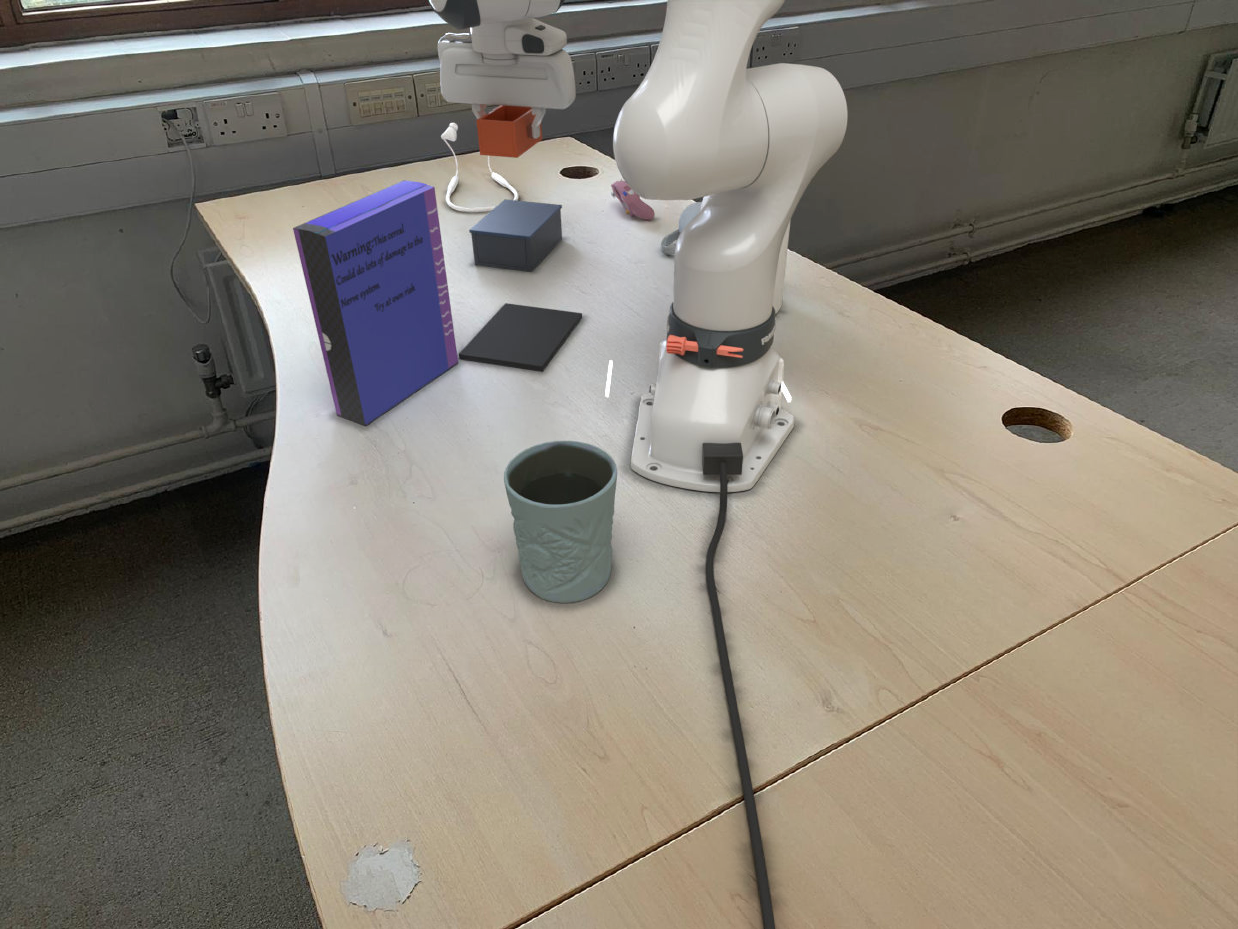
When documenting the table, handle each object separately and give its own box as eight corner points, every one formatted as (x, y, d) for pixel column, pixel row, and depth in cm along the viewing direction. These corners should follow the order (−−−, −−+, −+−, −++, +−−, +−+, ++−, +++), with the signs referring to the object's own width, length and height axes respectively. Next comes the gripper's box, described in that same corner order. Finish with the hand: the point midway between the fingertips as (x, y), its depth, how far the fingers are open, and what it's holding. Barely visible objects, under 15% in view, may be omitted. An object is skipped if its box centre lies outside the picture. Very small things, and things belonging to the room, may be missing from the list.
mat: (542, 371, 118) (542, 366, 117) (459, 359, 121) (458, 353, 120) (582, 318, 130) (582, 312, 130) (505, 307, 133) (505, 302, 133)
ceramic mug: (718, 238, 153) (719, 194, 149) (730, 257, 147) (732, 211, 142) (657, 244, 152) (656, 199, 148) (666, 263, 146) (666, 217, 141)
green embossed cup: (525, 617, 82) (515, 515, 75) (505, 547, 90) (494, 449, 83) (631, 594, 84) (631, 493, 77) (603, 528, 92) (600, 430, 85)
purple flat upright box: (430, 354, 122) (403, 178, 108) (458, 363, 120) (434, 185, 106) (336, 415, 110) (292, 226, 96) (365, 426, 108) (324, 234, 94)
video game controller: (619, 212, 168) (602, 181, 164) (640, 199, 168) (624, 167, 164) (636, 231, 161) (619, 199, 156) (658, 217, 160) (641, 184, 156)
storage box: (532, 272, 143) (530, 236, 140) (473, 265, 146) (469, 229, 142) (563, 239, 154) (562, 204, 151) (507, 232, 157) (504, 199, 153)
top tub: (517, 157, 131) (514, 122, 128) (479, 154, 133) (476, 119, 130) (542, 139, 139) (540, 105, 136) (506, 136, 140) (503, 103, 138)
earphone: (504, 152, 181) (510, 110, 163) (518, 232, 180) (525, 198, 162) (436, 158, 178) (435, 116, 161) (450, 239, 177) (449, 206, 160)
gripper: (426, 36, 127) (439, 136, 135) (561, 42, 122) (566, 146, 130) (446, 28, 132) (457, 125, 140) (577, 33, 127) (581, 134, 135)
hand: (511, 135), depth 135 cm, fingers closed on top tub, 6 cm apart
